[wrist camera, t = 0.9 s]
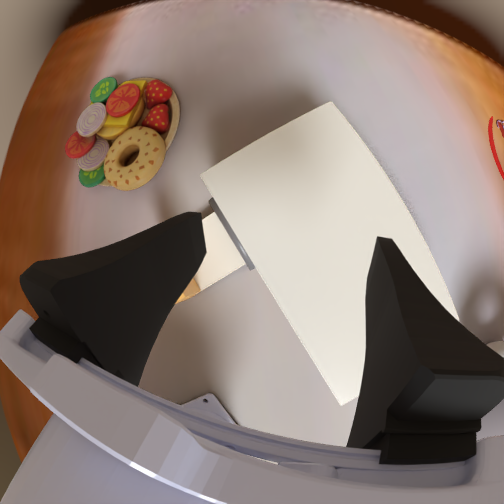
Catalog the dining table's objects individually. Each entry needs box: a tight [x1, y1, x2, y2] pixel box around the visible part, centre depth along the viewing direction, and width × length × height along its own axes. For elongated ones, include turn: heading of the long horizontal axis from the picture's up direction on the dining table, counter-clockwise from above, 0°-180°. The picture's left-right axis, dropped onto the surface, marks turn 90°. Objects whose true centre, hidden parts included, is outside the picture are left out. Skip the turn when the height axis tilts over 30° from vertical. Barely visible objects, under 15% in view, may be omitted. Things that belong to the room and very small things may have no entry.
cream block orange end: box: [175, 212, 246, 304], centre depth 22 cm, size 15×5×5 cm, turn 121°
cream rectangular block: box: [200, 101, 460, 406], centre depth 21 cm, size 12×19×6 cm, turn 31°
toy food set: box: [65, 77, 180, 191], centre depth 25 cm, size 13×13×3 cm
